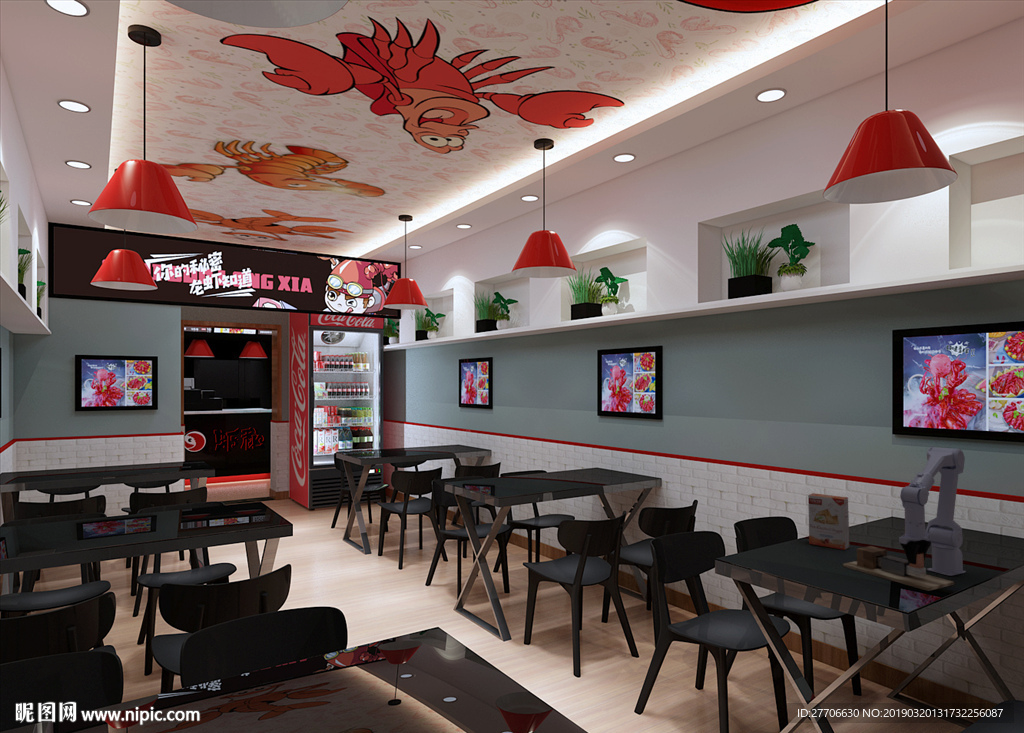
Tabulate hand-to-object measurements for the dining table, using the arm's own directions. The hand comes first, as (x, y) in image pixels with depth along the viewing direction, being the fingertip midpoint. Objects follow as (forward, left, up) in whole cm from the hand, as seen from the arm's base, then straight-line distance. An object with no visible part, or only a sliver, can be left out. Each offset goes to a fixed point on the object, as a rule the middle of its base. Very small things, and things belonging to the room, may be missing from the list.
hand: (916, 562), depth 205 cm
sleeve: (0, -7, -6) cm, 9 cm away
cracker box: (-14, -44, -6) cm, 46 cm away
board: (0, -7, -6) cm, 9 cm away
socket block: (0, -16, -6) cm, 17 cm away
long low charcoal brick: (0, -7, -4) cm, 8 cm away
